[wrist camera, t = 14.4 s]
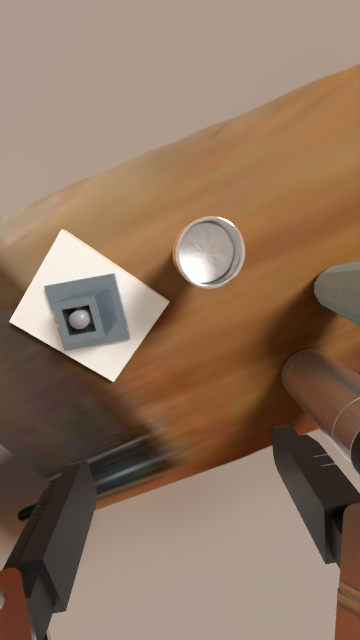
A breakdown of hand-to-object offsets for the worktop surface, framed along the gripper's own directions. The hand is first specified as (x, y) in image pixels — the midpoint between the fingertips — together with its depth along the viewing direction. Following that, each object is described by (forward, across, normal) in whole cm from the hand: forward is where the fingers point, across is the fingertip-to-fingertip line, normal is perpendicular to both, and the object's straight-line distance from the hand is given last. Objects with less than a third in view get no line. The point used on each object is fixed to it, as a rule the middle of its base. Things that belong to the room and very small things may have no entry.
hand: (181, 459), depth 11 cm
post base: (+30, +12, -2) cm, 32 cm away
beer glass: (+30, -5, -8) cm, 32 cm away
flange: (+29, +12, -2) cm, 31 cm away
